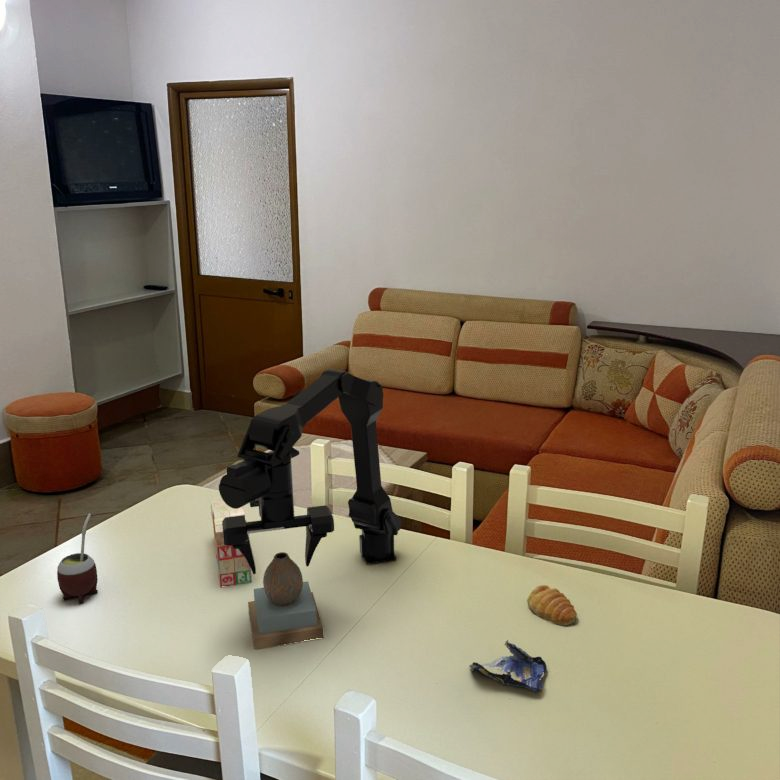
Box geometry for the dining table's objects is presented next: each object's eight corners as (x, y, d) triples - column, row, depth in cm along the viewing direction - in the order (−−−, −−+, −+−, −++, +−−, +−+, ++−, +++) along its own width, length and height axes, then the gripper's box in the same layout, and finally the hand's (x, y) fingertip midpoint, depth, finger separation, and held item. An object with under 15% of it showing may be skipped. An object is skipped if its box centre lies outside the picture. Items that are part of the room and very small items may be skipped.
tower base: (313, 606, 145) (312, 592, 144) (324, 642, 133) (323, 627, 133) (249, 616, 142) (248, 601, 141) (254, 654, 131) (253, 639, 130)
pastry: (585, 620, 137) (586, 601, 136) (558, 632, 134) (558, 613, 133) (549, 596, 145) (550, 579, 144) (522, 608, 141) (522, 589, 140)
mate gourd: (61, 609, 143) (50, 537, 139) (60, 589, 150) (49, 520, 146) (103, 600, 146) (93, 529, 142) (100, 581, 153) (90, 512, 149)
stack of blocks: (213, 539, 170) (209, 488, 166) (242, 535, 171) (238, 485, 168) (220, 588, 150) (215, 531, 146) (252, 583, 151) (248, 527, 148)
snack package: (499, 646, 131) (457, 677, 122) (506, 616, 128) (463, 645, 120) (559, 687, 123) (518, 723, 115) (567, 655, 121) (526, 689, 113)
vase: (310, 592, 138) (307, 549, 135) (292, 613, 131) (289, 568, 129) (276, 586, 140) (273, 543, 138) (257, 606, 134) (253, 561, 131)
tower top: (308, 595, 143) (308, 581, 142) (316, 625, 133) (316, 610, 132) (254, 603, 140) (253, 588, 139) (259, 634, 131) (258, 619, 130)
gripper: (322, 464, 139) (325, 541, 144) (217, 475, 135) (224, 554, 139) (333, 487, 129) (336, 570, 133) (220, 500, 125) (227, 585, 129)
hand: (281, 569), depth 134 cm, fingers open, 9 cm apart
